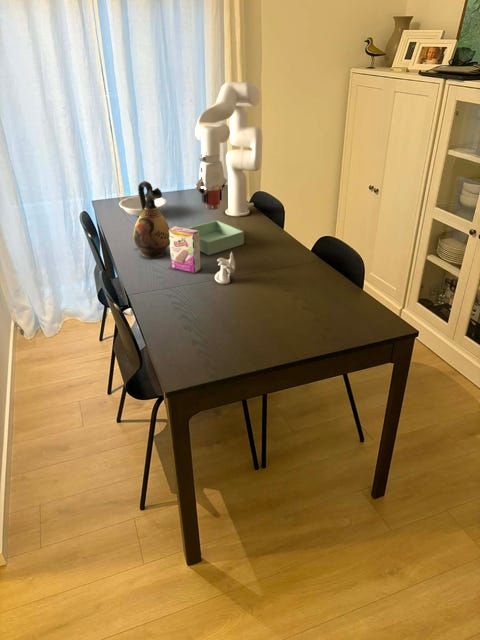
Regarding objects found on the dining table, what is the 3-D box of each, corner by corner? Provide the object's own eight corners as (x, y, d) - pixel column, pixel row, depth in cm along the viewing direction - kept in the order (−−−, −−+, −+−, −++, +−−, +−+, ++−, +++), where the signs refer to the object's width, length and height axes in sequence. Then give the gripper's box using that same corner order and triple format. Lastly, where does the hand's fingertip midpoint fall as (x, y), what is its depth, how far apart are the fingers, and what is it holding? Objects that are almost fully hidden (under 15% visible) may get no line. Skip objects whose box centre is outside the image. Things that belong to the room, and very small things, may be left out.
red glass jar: (213, 204, 215) (213, 181, 210) (223, 207, 211) (222, 184, 206) (201, 207, 211) (200, 183, 206) (210, 210, 207) (210, 187, 202)
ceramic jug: (179, 253, 209) (175, 183, 194) (150, 264, 199) (143, 191, 184) (154, 243, 219) (148, 175, 204) (125, 253, 209) (117, 182, 194)
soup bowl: (177, 212, 255) (176, 200, 252) (146, 226, 238) (144, 212, 234) (142, 204, 266) (141, 192, 263) (110, 217, 249) (108, 204, 246)
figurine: (211, 279, 188) (210, 249, 182) (229, 274, 191) (229, 246, 185) (224, 290, 180) (224, 260, 174) (242, 286, 183) (243, 256, 177)
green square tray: (217, 231, 231) (216, 220, 228) (243, 244, 218) (244, 231, 215) (182, 241, 220) (181, 229, 218) (208, 255, 208) (208, 242, 205)
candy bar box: (170, 268, 196) (167, 229, 187) (177, 264, 200) (174, 225, 191) (195, 273, 192) (193, 234, 183) (201, 269, 196) (199, 229, 187)
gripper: (199, 163, 193) (200, 207, 202) (233, 157, 203) (233, 199, 212) (188, 160, 198) (190, 203, 207) (221, 154, 208) (222, 195, 217)
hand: (211, 201), depth 210 cm, fingers closed on red glass jar, 6 cm apart
